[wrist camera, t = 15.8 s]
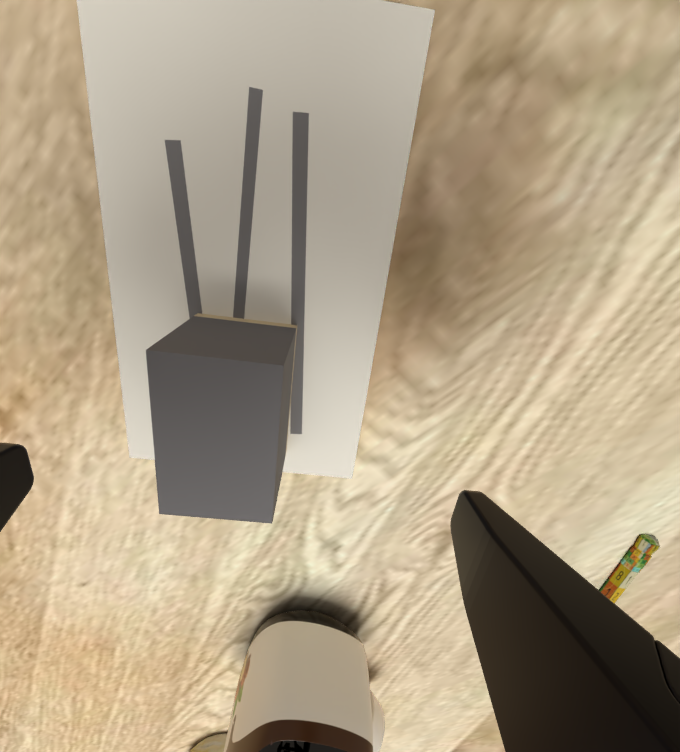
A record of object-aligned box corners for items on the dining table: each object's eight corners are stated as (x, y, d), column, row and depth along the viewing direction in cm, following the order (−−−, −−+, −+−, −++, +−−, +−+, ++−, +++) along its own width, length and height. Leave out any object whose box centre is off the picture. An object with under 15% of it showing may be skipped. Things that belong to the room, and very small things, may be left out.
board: (426, 26, 14) (434, 9, 13) (351, 464, 22) (352, 478, 20) (92, -34, 13) (69, -57, 12) (140, 444, 21) (129, 457, 20)
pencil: (536, 686, 31) (653, 532, 25) (542, 702, 30) (666, 546, 24) (521, 683, 31) (635, 528, 24) (527, 699, 30) (648, 542, 23)
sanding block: (297, 325, 17) (283, 365, 12) (286, 451, 20) (272, 523, 15) (197, 313, 17) (145, 349, 12) (200, 443, 19) (159, 513, 15)
